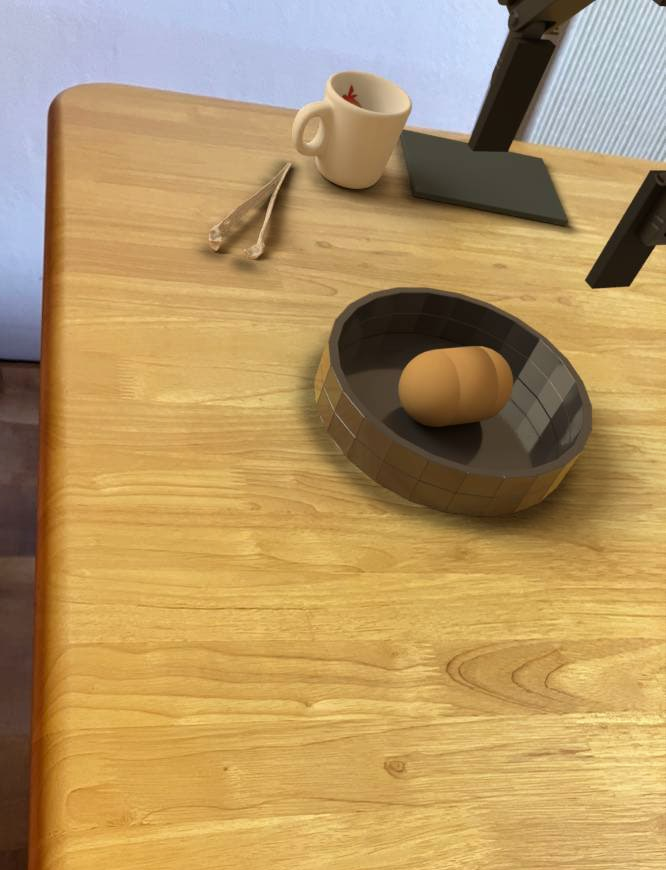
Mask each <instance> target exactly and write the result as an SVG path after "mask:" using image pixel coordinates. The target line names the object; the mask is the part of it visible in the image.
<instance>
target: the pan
mask: <svg viewBox="0 0 666 870" xmlns="http://www.w3.org/2000/svg"><path fill="white" fill-rule="evenodd" d="M326 341H327V342H326V344H325V348H324V351H323V353H322V356H321V360H320V362H319V365H318V368H317V371H316V374H315V377H314V381H313V385H314V386H313V387H314V399H315V406H316V409H317V412H318V415H319V418H320V420H321V422H322V424H323V426H324V428H325V430H326V432H327V434H328V435H329V437H330V438H331V440H332V442H334V444H335V446H336V447H337V448H338V449H339V450H340V451H341V452H342V454H343V455H344V456H345V457H346V458H347V460H349V461H350V462H351V463H352V464H354V465H355V467H357V468H358V470H360V471H361V472H362V473H364V474H365V475H366V476H367V477H369V478H371V480H373V481H374V482H376V483H377V484H378V485H381V486H382V487H383V488H385V489H388V491H390V492H393V493H395V494H396V495H398V496H401V497H403V498H405V499H406V500H409V501H411V502H413V503H416V504H419V505H422V506H423V507H427V508H430V509H434V510H438V511H441V512H445V513H449V514H455V515H461V516H471V517H496V516H503V515H509V514H515V513H517V512H521V511H524V510H526V509H529V508H530V507H533V506H535V505H538V504H539V503H541V502H542V501H543V500H544V499H545V498H547V497H548V496H549V495H550V494H551V493H552V492H553V491H555V490H556V489H557V488H558V486H559V485H560V484H561V482H562V481H563V479H564V478H565V477H566V475H567V474H568V472H569V471H570V469H571V468H572V467H573V465H574V464H575V462H576V461H577V460H578V458H579V457H580V456H581V454H582V453H583V451H584V449H585V447H586V445H587V443H588V440H589V438H590V436H591V433H592V431H593V405H592V402H591V399H590V397H589V394H588V391H587V388H586V385H585V383H584V381H583V379H582V378H581V376H580V375H579V374H578V372H577V371H576V369H575V367H574V366H573V365H572V363H571V361H570V360H569V359H568V358H567V356H565V354H564V353H562V352H561V350H560V349H558V348H557V347H556V346H555V345H554V343H552V342H551V341H550V340H549V339H548V338H547V337H545V336H544V335H543V334H542V333H541V332H539V331H537V330H536V329H535V328H533V327H532V326H531V325H529V324H528V323H526V322H525V321H523V320H522V319H521V318H519V317H517V316H516V315H514V314H512V313H510V312H507V311H506V310H505V309H502V308H500V307H498V306H496V305H494V304H492V303H490V302H487V301H484V300H481V299H477V298H476V297H472V296H469V295H465V294H463V293H460V292H456V291H451V290H445V289H439V288H433V287H425V286H402V287H401V286H398V287H397V286H395V287H391V288H386V289H381V290H377V291H372V292H370V293H367V294H366V295H363V296H361V297H360V298H358V299H356V300H354V301H352V302H350V303H349V304H348V305H347V306H346V307H345V308H344V310H342V311H341V313H340V314H339V315H337V317H336V318H335V319H334V321H333V324H332V327H331V330H330V333H329V336H328V339H327V340H326ZM469 346H481V347H486V348H489V349H492V350H494V351H496V352H497V353H499V354H500V355H501V356H502V357H503V358H504V359H505V360H506V362H507V363H508V365H509V367H510V369H511V372H512V376H513V389H512V393H511V396H510V399H509V401H508V402H507V404H506V405H505V407H504V408H503V409H502V410H501V411H500V412H499V413H498V414H496V415H495V416H493V417H491V418H489V419H487V420H483V421H480V422H472V423H465V424H457V425H450V426H442V427H431V426H426V425H423V424H421V423H419V422H417V421H415V420H414V419H412V418H411V417H410V416H409V415H408V414H407V413H406V411H405V410H404V408H403V406H402V404H401V402H400V398H399V390H398V388H399V381H400V378H401V375H402V372H403V370H404V369H405V367H406V366H407V365H408V363H409V362H410V361H411V360H413V359H414V358H415V357H416V356H418V355H420V354H422V353H424V352H427V351H431V350H437V349H447V348H458V347H469Z"/></svg>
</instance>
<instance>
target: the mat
mask: <svg viewBox="0 0 666 870" xmlns="http://www.w3.org/2000/svg"><path fill="white" fill-rule="evenodd" d="M399 140H400V143H401V147H402V151H403V157H404V160H405V166H406V171H407V174H408V178H409V182H410V188H411V192H412V197H416V198H420V199H426V200H430V201H436V202H440V203H441V202H442V203H446V204H452V205H455V206H461V207H466V208H471V209H472V208H473V209H477V210H482V211H486V212H491V213H496V214H501V215H507V216H511V217H519V218H522V219H527V220H533V221H538V222H544V223H548V224H552V225H559V226H562V227H566V226H567V224H568V222H569V220H568V217H567V215H566V213H565V211H564V208H563V205H562V203H561V200H560V198H559V195H558V193H557V191H556V187H555V186H554V184H553V180H552V179H551V176H550V174H549V171H548V170H547V166H546V164H545V162H544V161H545V160H543V159H544V158H542V157H539V156H538V157H537V156H534V155H533V156H532V155H528V154H523V153H519V152H513V151H510V150H509V151H508V152H480V151H472V150H471V148H470V147H469V146H468V142H466V141H463V140H462V141H461V140H456V139H451V138H447V137H442V136H437V135H432V134H427V133H423V132H419V131H414V130H408V129H404V128H403V130H402V133H401V135H400V137H399Z"/></svg>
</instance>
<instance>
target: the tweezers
mask: <svg viewBox="0 0 666 870" xmlns="http://www.w3.org/2000/svg"><path fill="white" fill-rule="evenodd" d="M292 164H293V162H291V161H288V162H287V164H286V165H285V166H283V168H282V169H281V170H280V171H279V173H278V174H277V175H276V176H274V178H272V179H271V180H270V181H269V182H268V183H267V184H265V185H264V186H263V187H262V188H260V190H258V191H257V192H255V193H254V194H253V195H251V196H250V197H248V198H247V199H246V200H245V201H243V202H241V203H240V204H239V205H237V206H236V207H235V208H233V210H232V211H231V212H230V213H229V214H228V215H227V216H226V217H225V218H224V219H223V220H221V221H220V222H219V223H217V224H215V225H213V227H212V228H211V229H209V231H208V233H209V234H208V242H209V245H210V248H211V249H212V250H213V251H215V252H218V250H219V249H220V247H221V246H222V245H223V237H222V236H223V235H224V234H225V233H226V232H227V231H228V230H229V229H231V228H232V227H233V226H235V225H236V224H237V223H238V222H239V221H240V220H241V219H242V218H243V217H244V216H245V215H246V214H248V213H249V212H250V211H251V210H253V209H254V208H256V206H257V205H259V204H260V203H262V202H263V200H265V199H266V198H267V197H268V196H269V195H271V196H270V199H269V202H268V206H267V210H266V214H265V218H264V220H263V221H264V222H263V224H262V227H261V230H260V232H259V234H258V235H259V236H258V239H257V242H256V244H253V246H251V247H250V248H248V249H247V248H244V249H243V252H244V257H246V258H249V259H251V260H257V259H258V258H259V257H260V256H261V255H262V254H263V253H264V250H265V245H266V244H265V242H264V239H265V232H266V230H267V229H266V228H267V226H268V223H269V220H270V219H271V214H272V211H273V207H274V205H275V202H276V200H277V196H278V194H279V191H280V189H281V186H282V184H283V182H284V180H285V177H286V176H287V174H288V172H289V170H290V168H291V167H292ZM228 219H229V220H228ZM227 220H228V222H227V223H225V222H226V221H227Z"/></svg>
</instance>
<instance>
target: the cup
mask: <svg viewBox="0 0 666 870" xmlns="http://www.w3.org/2000/svg"><path fill="white" fill-rule="evenodd" d="M412 108H413V102H412V99H411V97H410V95H409V94H408V93H407V92H406V91H405V90H404V89H403V88H402V87H401V86H399V85H398V84H396V83H395V82H393V81H391V80H389V79H387V78H384V77H382V76H380V75H377V74H374V73H369V72H365V71H361V70H360V71H359V70H342V71H338V72H336V73H334V74H333V73H332V75H331V76H329V78H328V79H327V81H326V84H325V90H324V95H323V100H318V101H313V102H310V103H307V104H305V105H304V106H303V107H301V108H300V110H299V111H298V112H297V114H295V115H296V116H295V117H294V120H293V124H292V128H291V142H292V146H293V147H294V149H295V151H297V153H299V155H301V156H305V157H314V161H315V166H316V168H317V170H318V172H319V173H320V174H321V175H322V177H324V178H325V179H326V180H328V181H329V182H331V183H333V184H335V185H337V186H339V187H342V188H346V189H347V188H348V189H351V190H352V189H353V190H361V189H363V190H364V189H366V188H369V187H372V186H373V185H375V184H376V183H377V182H378V181H379V180H380V179H381V177H382V175H383V174H384V171H385V170H386V167H387V165H388V163H389V161H390V159H391V157H392V154H393V152H394V150H395V148H396V146H397V144H398V141H399V140H400V135H401V133H402V130H403V129H404V128H405V126H406V124H407V121H408V119H409V117H410V115H411V113H412ZM316 117H317V118H319V126H318V128H317V132H316V135H315V136H314V138H313V139H312V140H311V141H309V142H306V143H304V140H303V139H304V131H305V129H306V127H307V125H308V123H309V122H310V121H311V120H313V119H314V118H316Z"/></svg>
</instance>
